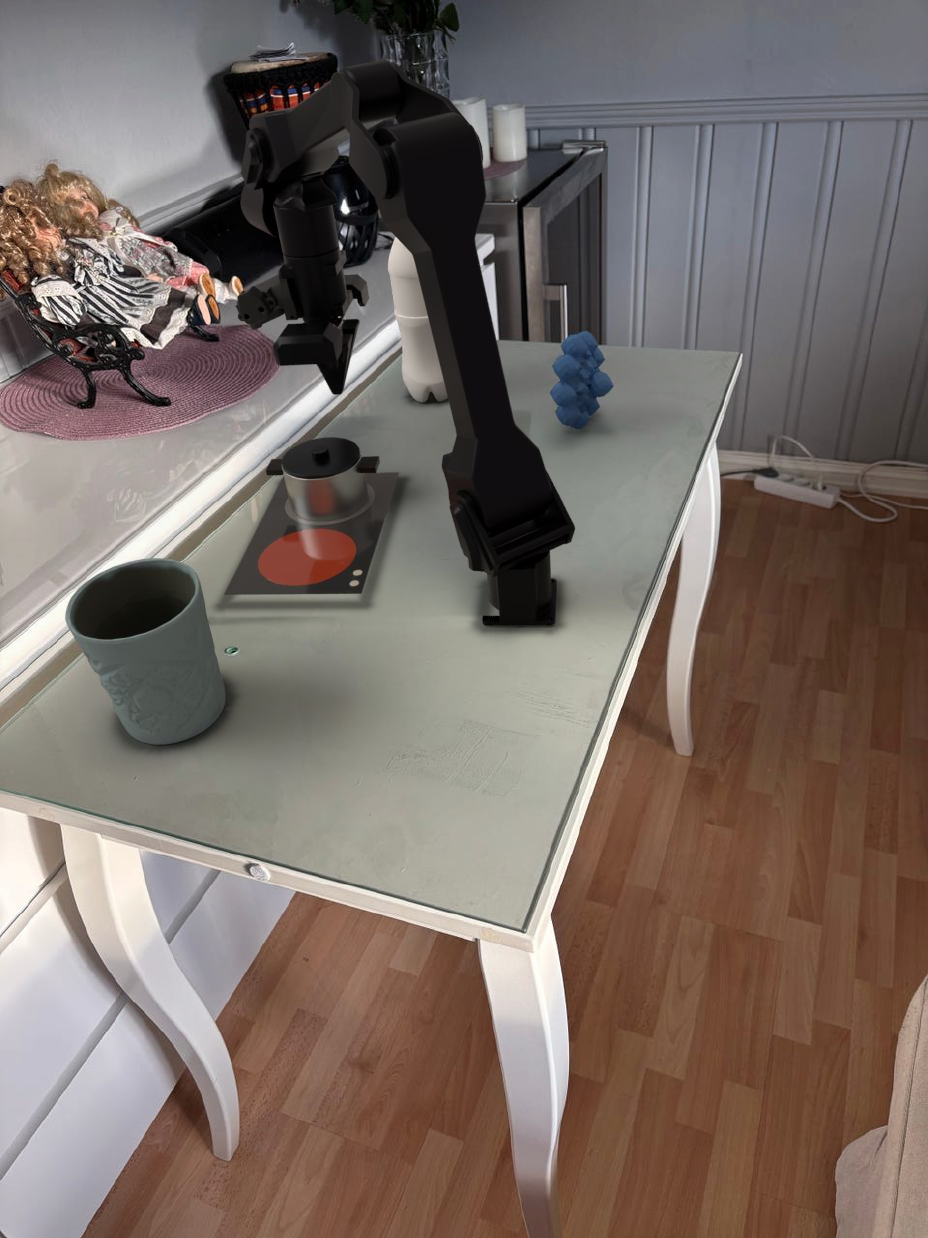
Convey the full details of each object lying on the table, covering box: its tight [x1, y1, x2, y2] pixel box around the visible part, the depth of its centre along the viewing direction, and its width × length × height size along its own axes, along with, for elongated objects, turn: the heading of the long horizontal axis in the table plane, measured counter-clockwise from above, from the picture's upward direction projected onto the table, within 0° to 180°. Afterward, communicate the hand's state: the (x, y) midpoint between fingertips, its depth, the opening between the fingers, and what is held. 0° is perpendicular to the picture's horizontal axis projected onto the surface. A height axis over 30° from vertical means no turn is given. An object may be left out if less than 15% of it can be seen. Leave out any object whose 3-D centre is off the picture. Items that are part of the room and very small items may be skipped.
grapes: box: [549, 330, 615, 430], centre depth 105 cm, size 12×7×12 cm, turn 152°
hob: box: [223, 471, 400, 596], centre depth 95 cm, size 23×14×1 cm, turn 174°
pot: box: [265, 436, 381, 521], centre depth 96 cm, size 8×12×6 cm
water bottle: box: [387, 236, 448, 403], centre depth 112 cm, size 7×7×25 cm
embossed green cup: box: [64, 557, 227, 746], centre depth 72 cm, size 10×10×12 cm
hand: (337, 393), depth 101 cm, fingers closed
